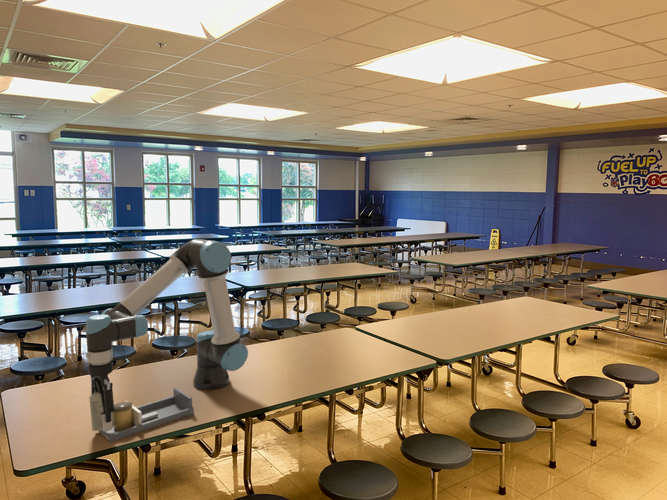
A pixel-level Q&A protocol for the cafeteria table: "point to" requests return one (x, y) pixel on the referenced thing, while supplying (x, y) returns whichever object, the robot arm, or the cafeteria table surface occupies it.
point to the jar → (123, 415)
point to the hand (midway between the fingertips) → (103, 426)
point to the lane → (166, 411)
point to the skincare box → (98, 412)
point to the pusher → (141, 416)
